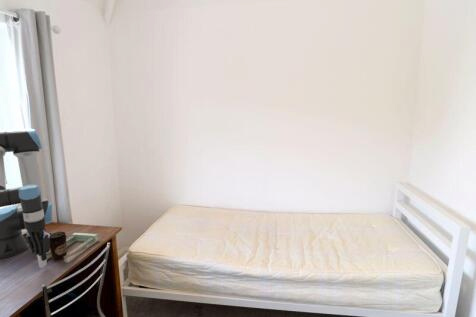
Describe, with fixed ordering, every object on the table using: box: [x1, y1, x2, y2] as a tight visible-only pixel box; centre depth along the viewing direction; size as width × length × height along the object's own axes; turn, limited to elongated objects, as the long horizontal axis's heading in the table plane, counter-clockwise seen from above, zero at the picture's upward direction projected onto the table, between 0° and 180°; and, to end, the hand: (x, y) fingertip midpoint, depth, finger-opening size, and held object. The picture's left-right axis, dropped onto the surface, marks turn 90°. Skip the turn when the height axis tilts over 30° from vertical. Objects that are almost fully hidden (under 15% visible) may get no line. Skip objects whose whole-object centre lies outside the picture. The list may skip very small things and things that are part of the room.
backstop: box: [71, 232, 99, 243], centre depth 155 cm, size 14×2×4 cm, turn 80°
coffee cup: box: [50, 231, 68, 262], centre depth 136 cm, size 9×8×13 cm
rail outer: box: [63, 237, 96, 263], centre depth 143 cm, size 2×20×3 cm, turn 170°
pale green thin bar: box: [46, 235, 77, 262], centre depth 145 cm, size 2×20×3 cm, turn 170°
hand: (43, 266), depth 128 cm, fingers closed
